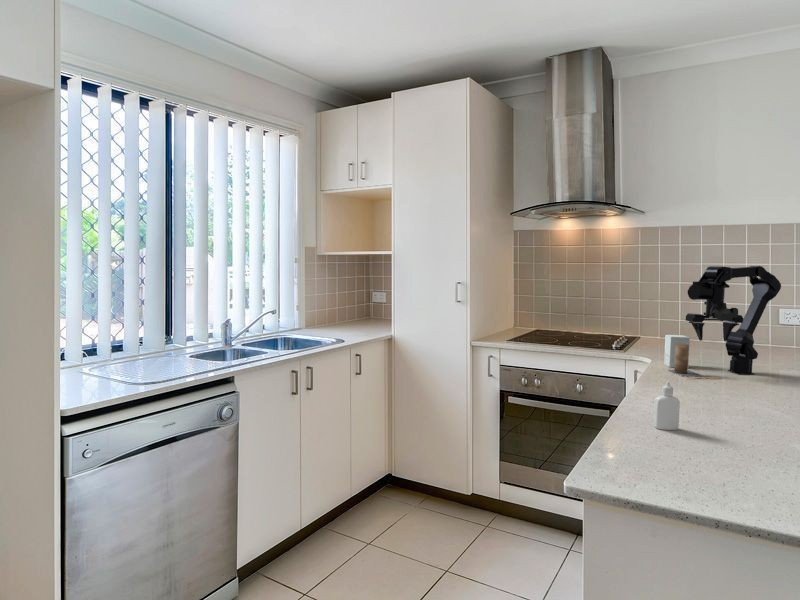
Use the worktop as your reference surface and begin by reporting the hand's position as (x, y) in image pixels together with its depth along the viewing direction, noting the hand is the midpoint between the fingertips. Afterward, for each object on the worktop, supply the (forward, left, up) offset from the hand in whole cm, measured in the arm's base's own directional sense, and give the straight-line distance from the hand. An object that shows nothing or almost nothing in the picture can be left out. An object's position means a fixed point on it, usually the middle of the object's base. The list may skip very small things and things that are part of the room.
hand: (712, 340), depth 197 cm
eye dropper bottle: (+50, +66, -13) cm, 84 cm away
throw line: (+7, +7, -13) cm, 16 cm away
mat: (+9, -1, -13) cm, 16 cm away
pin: (+11, -1, -13) cm, 17 cm away
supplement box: (+5, -16, -13) cm, 21 cm away
